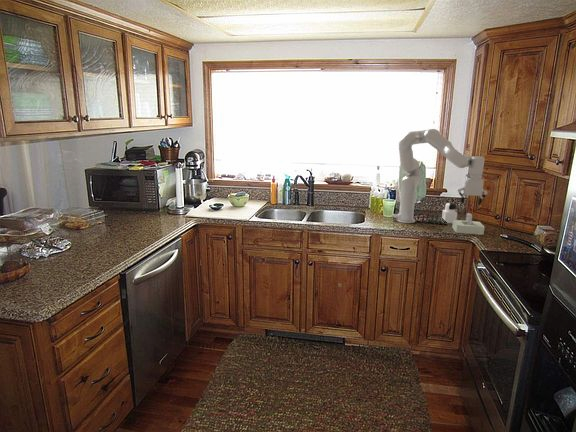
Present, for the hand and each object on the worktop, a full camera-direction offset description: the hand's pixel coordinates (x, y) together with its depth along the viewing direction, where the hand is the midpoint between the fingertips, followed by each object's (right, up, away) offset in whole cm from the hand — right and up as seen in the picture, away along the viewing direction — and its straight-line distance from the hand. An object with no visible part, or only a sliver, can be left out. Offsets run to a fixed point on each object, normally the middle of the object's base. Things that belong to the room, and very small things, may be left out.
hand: (470, 203), depth 249 cm
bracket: (0, -17, +4) cm, 18 cm away
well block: (0, -17, +4) cm, 18 cm away
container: (-4, -12, +25) cm, 28 cm away
